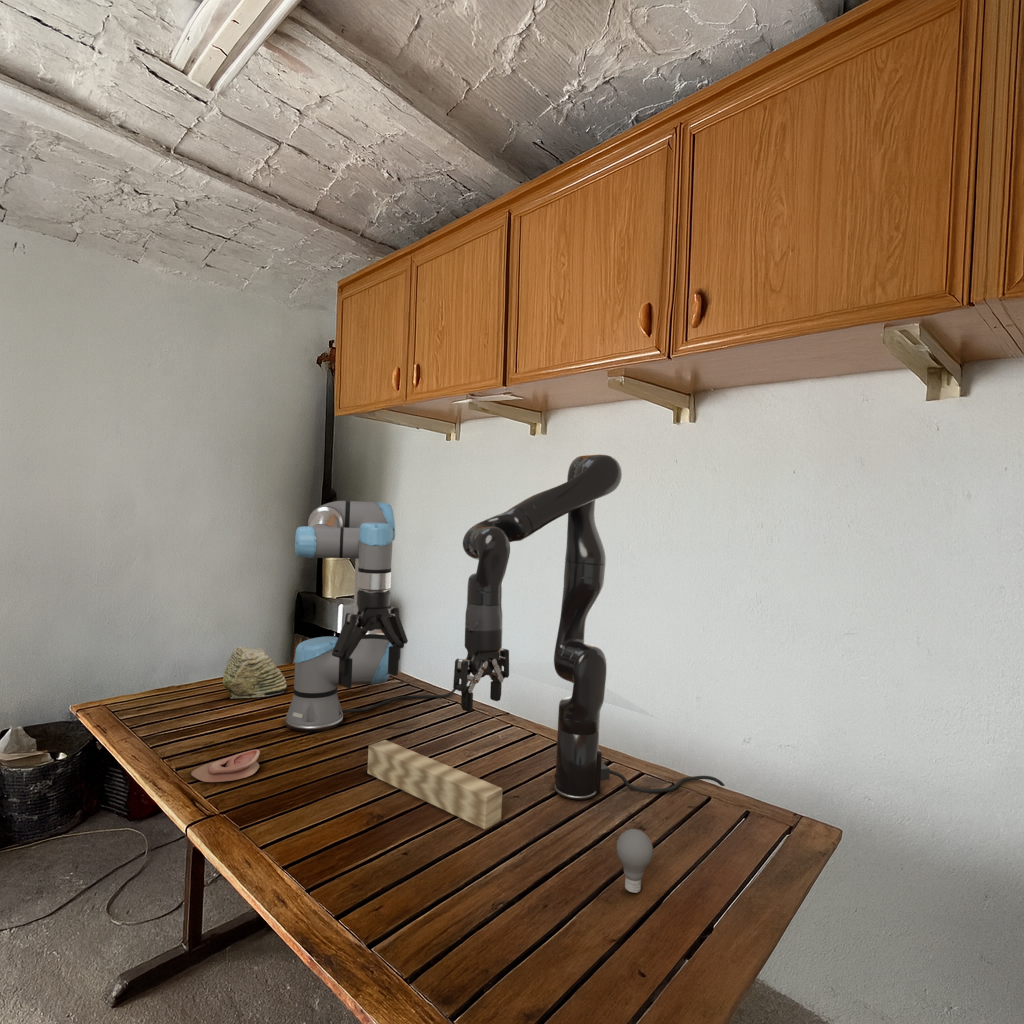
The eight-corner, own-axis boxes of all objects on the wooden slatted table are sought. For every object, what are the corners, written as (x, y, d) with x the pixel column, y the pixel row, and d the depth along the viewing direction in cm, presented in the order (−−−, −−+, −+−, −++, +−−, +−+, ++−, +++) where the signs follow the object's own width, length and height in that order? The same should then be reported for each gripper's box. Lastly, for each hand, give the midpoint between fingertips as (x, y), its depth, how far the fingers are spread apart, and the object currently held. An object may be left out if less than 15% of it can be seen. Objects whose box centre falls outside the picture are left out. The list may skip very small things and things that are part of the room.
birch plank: (367, 773, 146) (368, 745, 146) (384, 766, 150) (385, 739, 150) (484, 829, 123) (486, 796, 123) (501, 820, 127) (502, 788, 127)
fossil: (218, 695, 195) (220, 647, 195) (278, 685, 208) (279, 640, 207) (228, 703, 189) (230, 653, 188) (289, 692, 201) (290, 645, 201)
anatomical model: (182, 760, 139) (216, 741, 150) (181, 778, 139) (216, 758, 150) (236, 768, 136) (267, 748, 147) (235, 786, 136) (266, 765, 147)
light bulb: (610, 879, 108) (613, 822, 108) (644, 879, 109) (647, 822, 109) (619, 902, 102) (622, 840, 102) (655, 901, 103) (658, 840, 103)
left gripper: (403, 582, 158) (399, 666, 159) (318, 592, 139) (314, 688, 140) (424, 586, 154) (420, 673, 155) (339, 597, 134) (335, 696, 135)
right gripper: (492, 617, 135) (490, 693, 135) (445, 627, 124) (443, 709, 124) (520, 623, 130) (518, 701, 131) (473, 633, 119) (471, 719, 119)
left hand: (370, 680), depth 147 cm, fingers open, 13 cm apart
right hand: (481, 705), depth 127 cm, fingers open, 8 cm apart
